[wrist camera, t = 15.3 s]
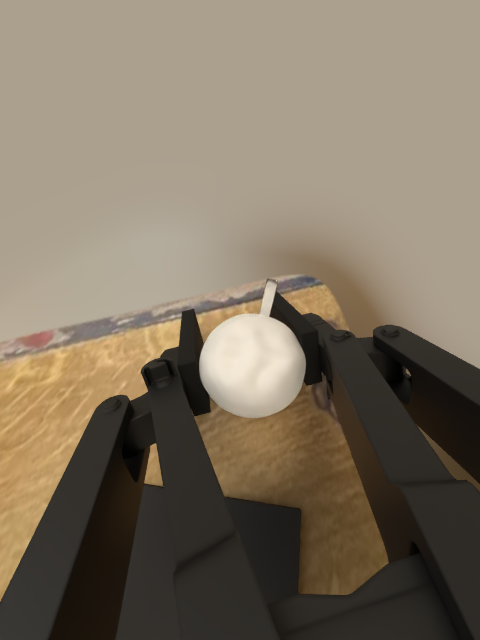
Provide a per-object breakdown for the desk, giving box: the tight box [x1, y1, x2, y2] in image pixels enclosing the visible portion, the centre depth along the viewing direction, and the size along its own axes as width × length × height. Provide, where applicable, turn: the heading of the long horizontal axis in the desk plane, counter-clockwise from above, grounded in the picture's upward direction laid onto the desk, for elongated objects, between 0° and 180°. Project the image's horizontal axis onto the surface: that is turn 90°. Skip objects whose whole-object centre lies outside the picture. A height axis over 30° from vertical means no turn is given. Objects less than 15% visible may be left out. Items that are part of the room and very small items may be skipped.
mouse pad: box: [116, 484, 301, 640], centre depth 15 cm, size 12×10×1 cm
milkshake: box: [199, 278, 306, 418], centre depth 15 cm, size 5×5×10 cm
